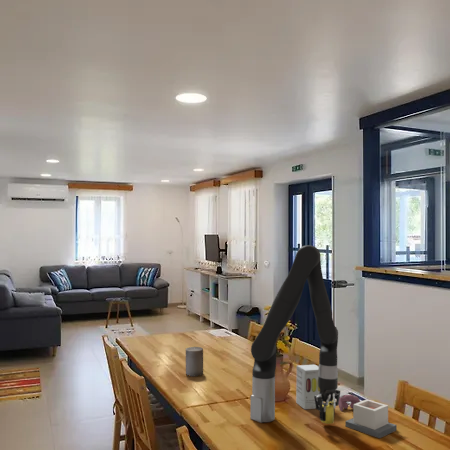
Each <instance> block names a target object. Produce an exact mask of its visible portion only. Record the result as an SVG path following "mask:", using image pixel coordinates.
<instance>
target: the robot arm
mask: <svg viewBox="0 0 450 450" xmlns="http://www.w3.org/2000/svg"><path fill="white" fill-rule="evenodd" d="M321 260H322V259H321V252H320V250H319V249H318V247H316V246H314V245H312V244H311V245H310V244H307V245H303V246H301V247H300V248H298V249H297V251H296V253H295V257H294V260H293V263H292V265H291V269H290V270H289V273H288V274H287V277H286V278H285V279H284V281H283V282H282V284H281V287H280V288H279V290H278V292H277V293H276V295H275V298H274V300H273V302H272V304H271V307H270V309H269V311H268V313H267V316H266V320H264V324H263V326H262V327H261V329H260V331H259V333H258V334H257V336H256V337H255V339H254V341H253V342H252V344H251V347H250V354H251V356H252V358H253V359H254V361H253V367H252V375H251V376H252V379H251V380H252V382H251V383H252V384H251V385H252V391H251V393H252V394H251V395H250V417H249V418H250V419H251V420H253V421H256V422H258V423H260V424H262V423H271V422H273V421H275V418H276V417H275V416H276V415H275V414H276V413H275V410H276V406H275V405H276V401H275V399H276V397H275V396H276V390H275V389H276V387H275V386H276V368H277V345H276V343H277V341H278V338H279V336H280V335H281V333H282V331H283V329H285V327H286V325H287V324H288V322H289V321H290V320H291V318H292V317H293V315H294V313H295V310H296V308H297V306H298V304H299V303H300V299H301V297H302V294H303V291H304V287H305V283H306V282H307V283H308V289H309V295H310V301H311V307H312V310H313V311H312V312H313V313H314V317H315V321H316V329H317V333H318V337H319V339H320V348H319V352H318V353H319V356H318V358H319V359H318V367H319V369H318V387H319V388H320V393H319V395H315V396H314V398H315V405H316V408H315V409H316V410H318V411H319V421H320V422H321V421H325V420H326V412H325V411H326V407H327V406H328V404H331V405H333V406H334V416H336V415H335V412H336V411H335V409H336V407H337V406H338V407H339V405H338V404H339V398H340V396H341V390H339V389H338V381H339V379H338V378H339V374H338V372H339V371H338V342H339V330H338V328H337V327H336V326H335V323H334V319H333V310H332V306H331V302H330V299H329V295H328V293H327V288H326V285H325V281H324V278H323V277H324V276H323V271H322V261H321ZM322 401H323V402H324V403H323V402H322ZM322 405H324V407H322Z"/></svg>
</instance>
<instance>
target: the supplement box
mask: <svg viewBox="0 0 450 450" xmlns="http://www.w3.org/2000/svg"><path fill="white" fill-rule="evenodd" d="M318 369H319V365H316V364H301V365H299V364H297V365H296V385H295V386H296V388H295V389H296V390H295V391H296V393H295V395H296V396H295V402H296V404H297V405H298V406H300V407H301V408H303V410H311V409H313V410H314V409H316V405H315V398H314V396H315V395H319V393H320V388H319V387H318ZM322 402H323V401H322ZM323 403H325V402H323Z"/></svg>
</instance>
